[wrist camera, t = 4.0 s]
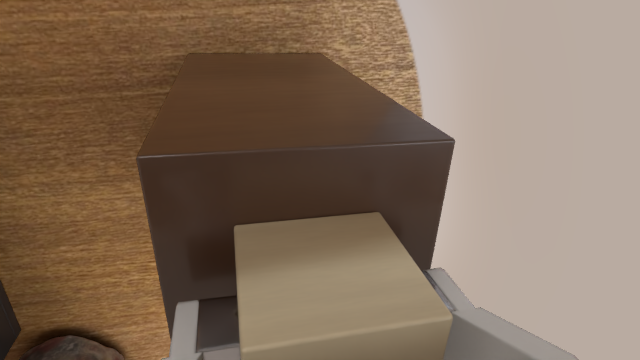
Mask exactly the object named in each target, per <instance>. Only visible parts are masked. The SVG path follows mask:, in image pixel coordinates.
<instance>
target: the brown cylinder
mask: <svg viewBox="0 0 640 360" xmlns="http://www.w3.org/2000/svg"><path fill="white" fill-rule="evenodd" d="M19 360H125V359H124V357H123V356H122V355H121V354H119V353H118V351H117V350H115V349H113V348H109V347H105V346H103V345H101V344H99V343H97V342H94V341H92V340H89V339H86V338H83V337H78V336H72V335H68V336H64V337H56V338H52V339H50V340H48V341H46V342H44V343H42V344H40V345H38V346H35V347H33V348H32V349H30V350H28V351H27V352H26V353H24V354H23V355H22V356H21V357H20V359H19Z"/></svg>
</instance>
